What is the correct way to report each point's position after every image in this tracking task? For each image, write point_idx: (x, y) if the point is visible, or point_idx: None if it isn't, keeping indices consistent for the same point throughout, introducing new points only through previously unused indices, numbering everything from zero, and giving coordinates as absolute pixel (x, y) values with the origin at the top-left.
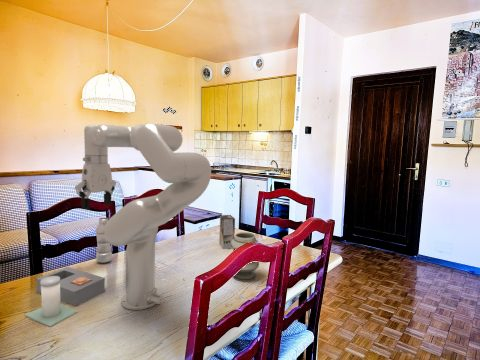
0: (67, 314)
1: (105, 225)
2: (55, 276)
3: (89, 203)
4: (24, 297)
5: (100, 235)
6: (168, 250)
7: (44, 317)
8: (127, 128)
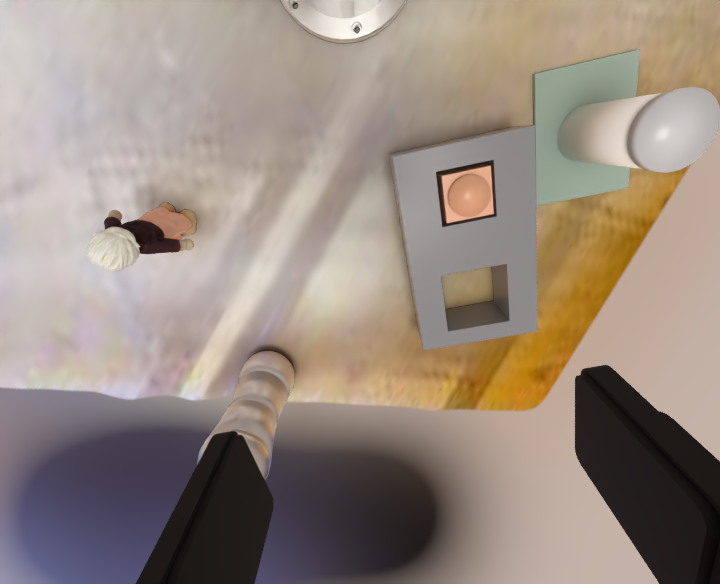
0: (565, 80)
1: None
2: (642, 150)
3: (643, 427)
4: (556, 300)
5: (263, 435)
6: (23, 298)
7: None
8: None
